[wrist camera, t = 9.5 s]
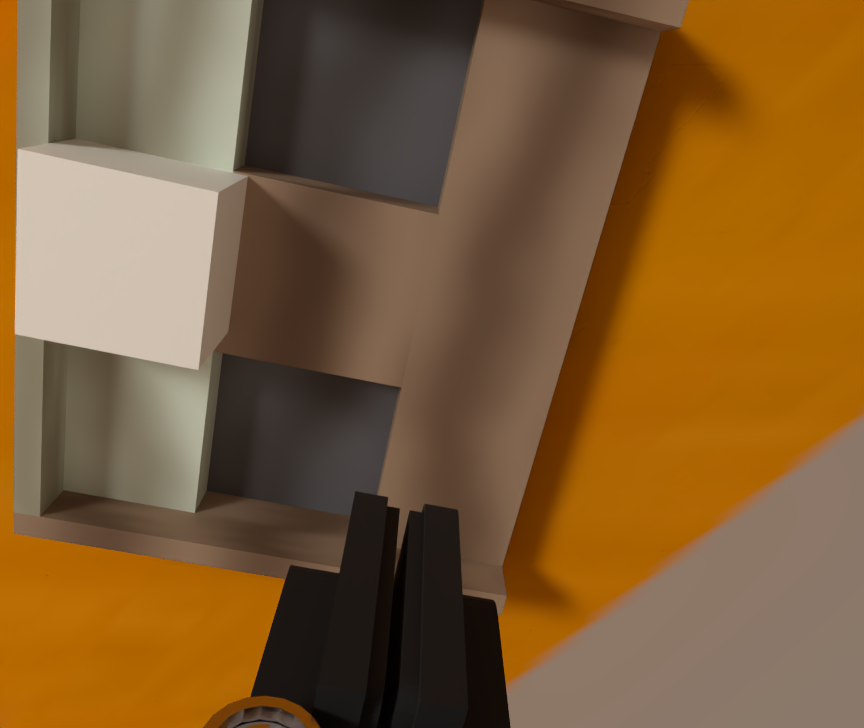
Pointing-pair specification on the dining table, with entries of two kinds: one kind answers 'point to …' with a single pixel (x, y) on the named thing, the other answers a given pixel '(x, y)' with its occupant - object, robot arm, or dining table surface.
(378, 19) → the box
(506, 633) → the dining table surface
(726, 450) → the dining table surface
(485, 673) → the robot arm
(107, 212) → the cream block
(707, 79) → the dining table surface
